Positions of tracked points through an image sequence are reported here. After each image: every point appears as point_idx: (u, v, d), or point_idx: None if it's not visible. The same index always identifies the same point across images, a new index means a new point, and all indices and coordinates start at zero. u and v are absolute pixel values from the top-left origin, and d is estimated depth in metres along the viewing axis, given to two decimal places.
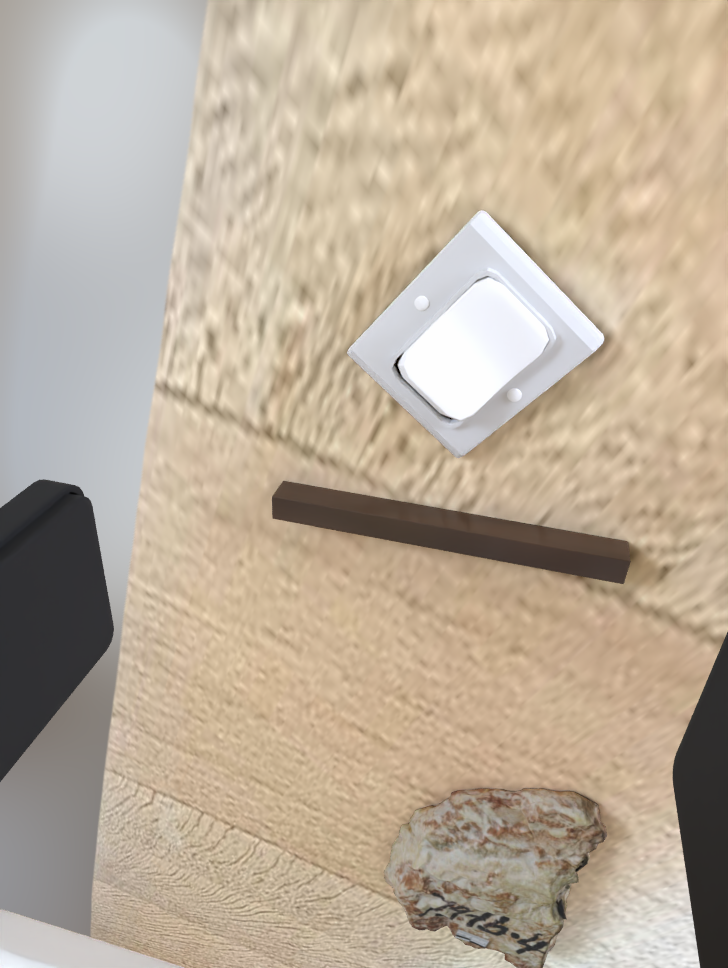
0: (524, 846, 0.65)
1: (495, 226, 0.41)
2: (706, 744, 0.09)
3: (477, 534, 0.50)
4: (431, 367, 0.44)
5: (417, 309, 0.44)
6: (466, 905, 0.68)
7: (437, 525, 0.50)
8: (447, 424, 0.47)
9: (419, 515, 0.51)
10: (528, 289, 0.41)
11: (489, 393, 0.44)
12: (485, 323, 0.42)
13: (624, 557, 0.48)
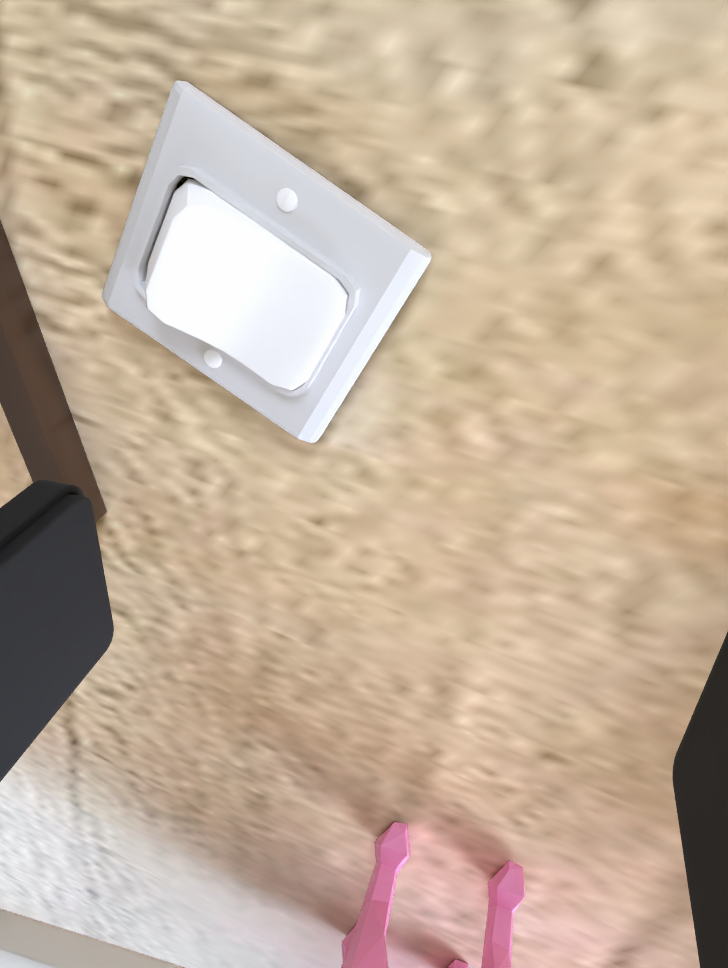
0: None
1: (414, 282, 0.29)
2: (706, 744, 0.09)
3: (13, 360, 0.35)
4: (201, 248, 0.29)
5: (277, 194, 0.29)
6: None
7: None
8: (137, 279, 0.32)
9: None
10: (346, 347, 0.31)
11: (200, 334, 0.32)
12: (287, 306, 0.30)
13: None
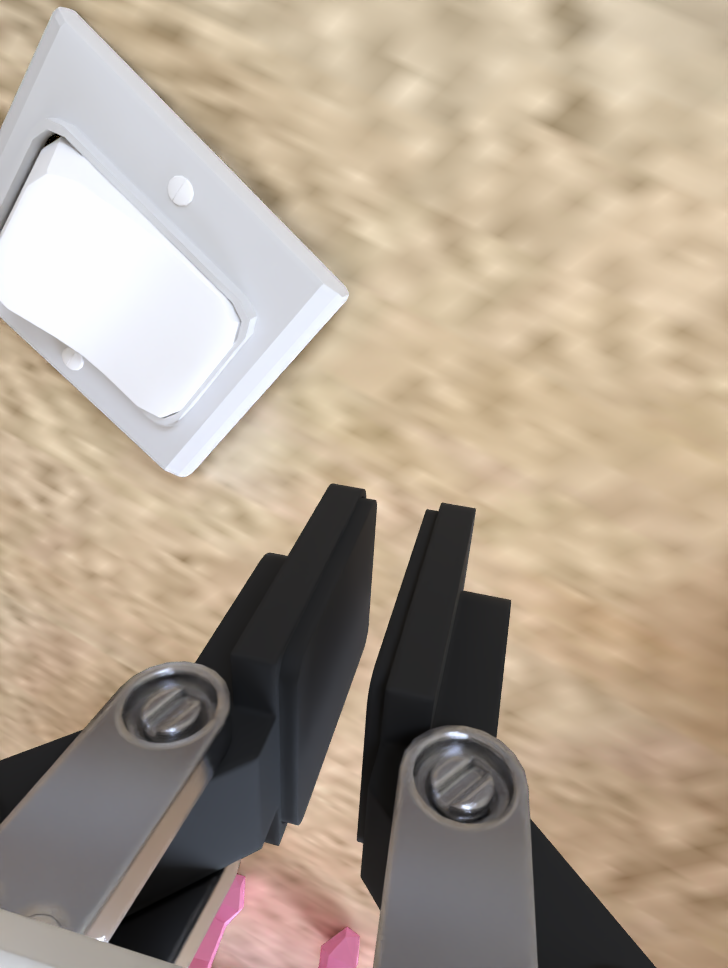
0: None
1: (323, 322, 0.24)
2: None
3: None
4: (62, 229, 0.23)
5: (169, 181, 0.23)
6: None
7: None
8: None
9: None
10: (233, 380, 0.26)
11: (54, 331, 0.25)
12: (165, 320, 0.24)
13: None
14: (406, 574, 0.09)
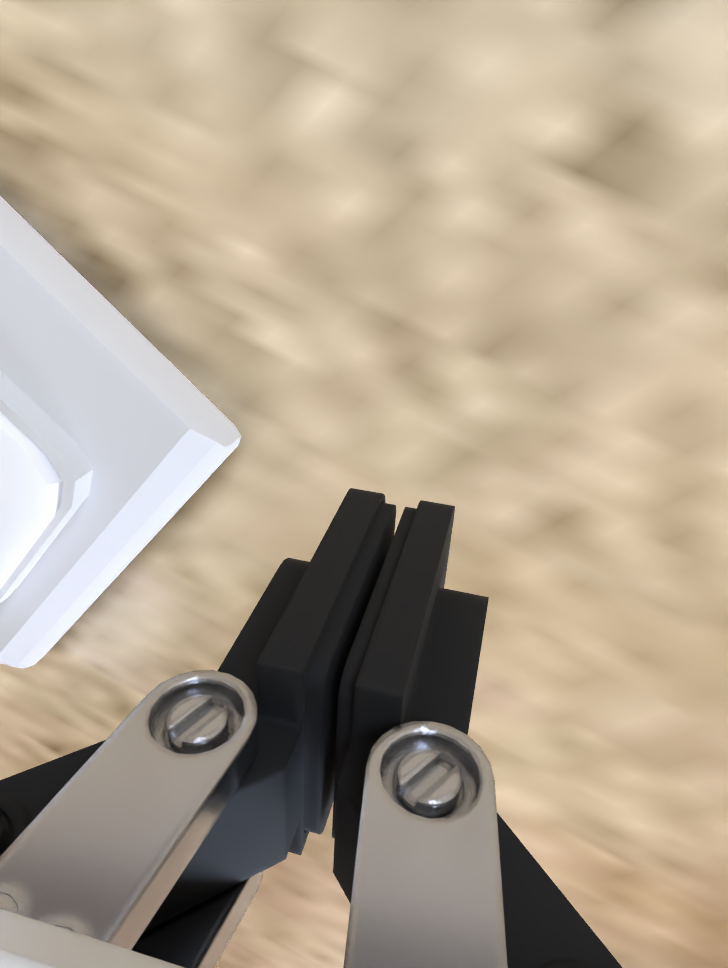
0: None
1: (200, 481, 0.15)
2: None
3: None
4: None
5: None
6: None
7: None
8: None
9: None
10: (70, 556, 0.16)
11: None
12: None
13: None
14: (382, 571, 0.09)
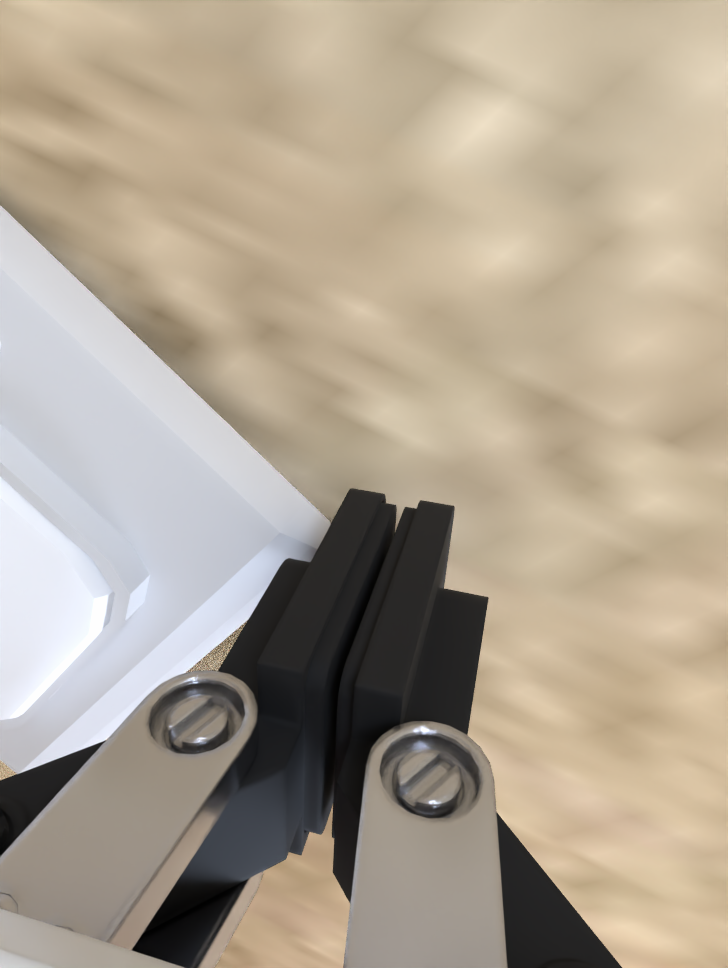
0: None
1: None
2: None
3: None
4: None
5: None
6: None
7: None
8: None
9: None
10: (116, 669, 0.13)
11: None
12: None
13: None
14: (381, 571, 0.09)
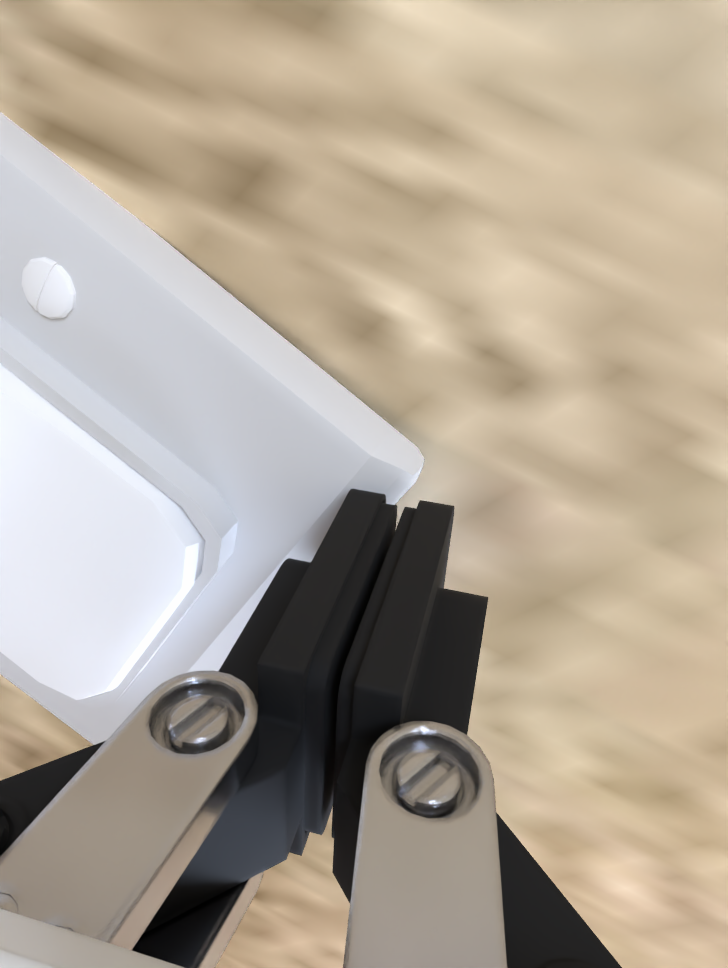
0: None
1: None
2: None
3: None
4: None
5: (23, 271, 0.11)
6: None
7: None
8: None
9: None
10: (207, 631, 0.13)
11: None
12: (56, 543, 0.12)
13: None
14: (381, 572, 0.09)
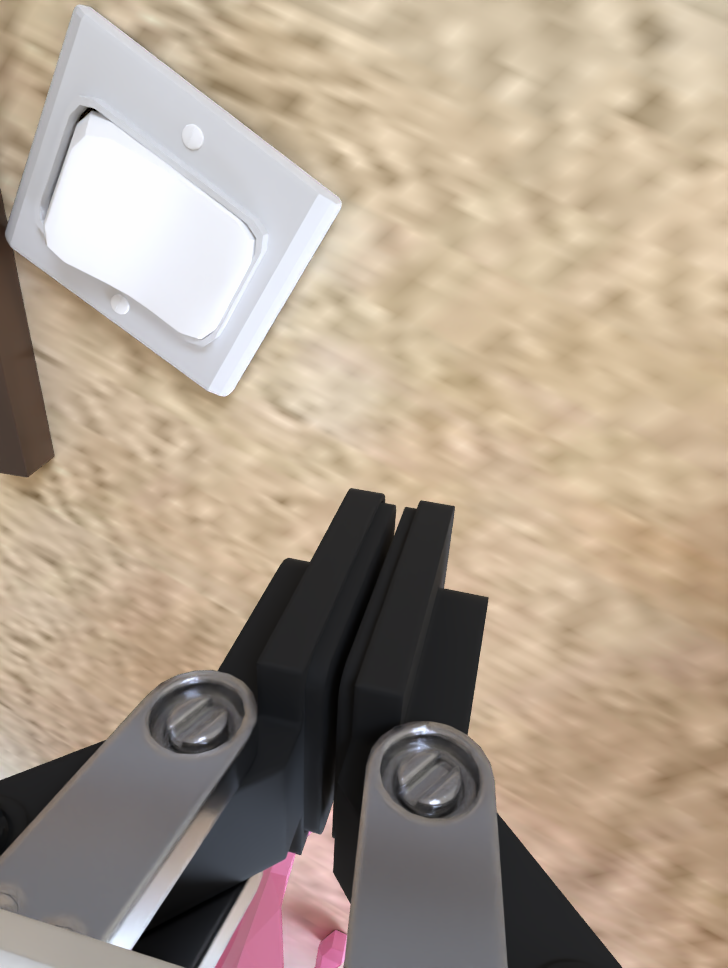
0: None
1: (323, 230, 0.29)
2: None
3: None
4: (102, 182, 0.28)
5: (182, 131, 0.28)
6: None
7: None
8: (39, 217, 0.31)
9: None
10: (255, 295, 0.30)
11: (103, 276, 0.30)
12: (193, 249, 0.29)
13: (30, 469, 0.38)
14: (382, 571, 0.09)
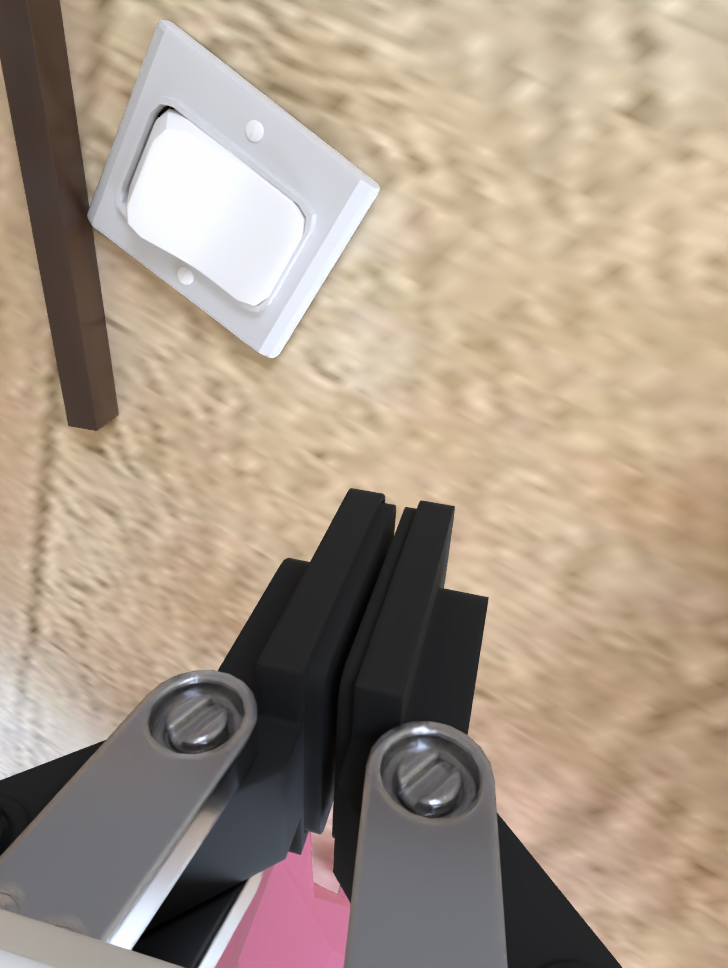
0: None
1: (363, 211, 0.34)
2: None
3: (67, 256, 0.37)
4: (177, 169, 0.33)
5: (246, 125, 0.33)
6: None
7: (61, 197, 0.36)
8: (119, 199, 0.36)
9: (66, 164, 0.36)
10: (303, 267, 0.35)
11: (174, 250, 0.36)
12: (252, 226, 0.34)
13: (99, 423, 0.43)
14: (382, 571, 0.09)
